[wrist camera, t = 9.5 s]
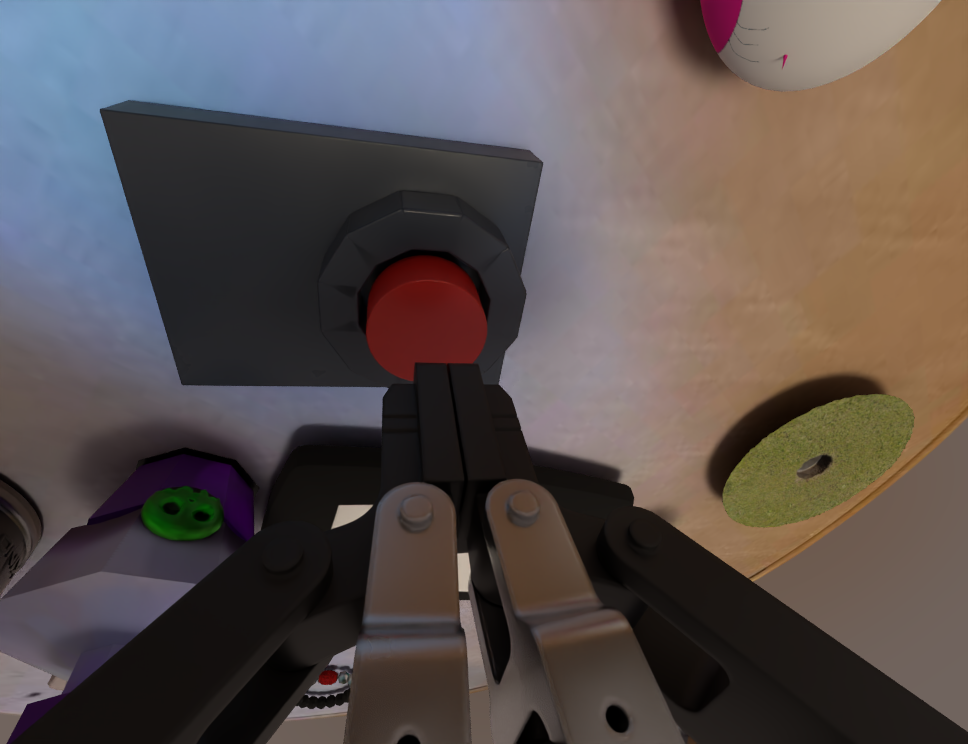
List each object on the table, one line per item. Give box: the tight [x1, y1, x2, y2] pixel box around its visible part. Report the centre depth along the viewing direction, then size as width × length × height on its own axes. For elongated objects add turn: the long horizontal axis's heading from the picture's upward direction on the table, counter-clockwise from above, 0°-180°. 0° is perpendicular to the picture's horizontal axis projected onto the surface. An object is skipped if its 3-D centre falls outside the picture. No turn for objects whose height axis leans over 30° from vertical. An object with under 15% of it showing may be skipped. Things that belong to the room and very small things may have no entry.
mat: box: [722, 394, 915, 527], centre depth 28 cm, size 11×11×2 cm
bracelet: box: [296, 670, 352, 709], centre depth 37 cm, size 6×6×1 cm
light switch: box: [261, 445, 634, 600], centre depth 27 cm, size 20×3×14 cm
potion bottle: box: [0, 448, 259, 744], centre depth 18 cm, size 9×9×12 cm
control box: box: [100, 100, 543, 388], centre depth 16 cm, size 12×9×4 cm
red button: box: [366, 255, 487, 381], centre depth 14 cm, size 4×4×2 cm
